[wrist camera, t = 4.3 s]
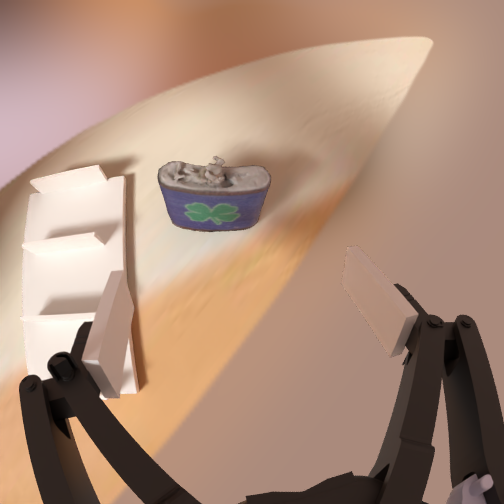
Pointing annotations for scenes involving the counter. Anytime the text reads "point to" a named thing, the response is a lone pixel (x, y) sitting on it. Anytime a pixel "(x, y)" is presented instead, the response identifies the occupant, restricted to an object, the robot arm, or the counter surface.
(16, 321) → the counter surface
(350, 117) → the counter surface
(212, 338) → the counter surface
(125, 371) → the rack
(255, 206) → the flask
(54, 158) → the counter surface
